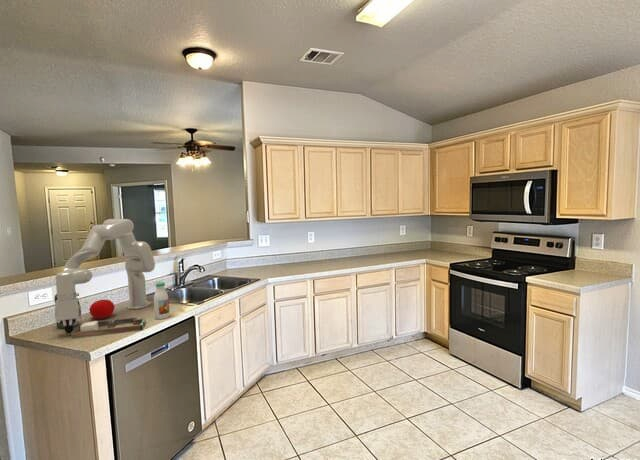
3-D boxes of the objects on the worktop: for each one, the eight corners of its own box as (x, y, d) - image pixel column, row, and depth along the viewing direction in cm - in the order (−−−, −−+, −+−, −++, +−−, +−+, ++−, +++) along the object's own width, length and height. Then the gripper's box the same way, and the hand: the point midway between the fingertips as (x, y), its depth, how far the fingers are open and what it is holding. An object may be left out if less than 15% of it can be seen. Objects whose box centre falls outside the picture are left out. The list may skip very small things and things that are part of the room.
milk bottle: (153, 320, 194) (151, 285, 192) (156, 316, 201) (153, 281, 200) (168, 318, 196) (166, 283, 194) (170, 314, 203) (168, 280, 202)
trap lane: (82, 328, 184) (81, 323, 184) (146, 320, 193) (146, 316, 193) (71, 338, 170) (71, 333, 170) (142, 329, 179) (141, 325, 179)
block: (85, 332, 178) (84, 322, 178) (98, 330, 180) (97, 321, 180) (81, 336, 173) (80, 326, 172) (94, 334, 175) (94, 324, 174)
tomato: (103, 321, 194) (102, 302, 193) (85, 320, 197) (83, 302, 196) (119, 314, 205) (117, 297, 204) (101, 313, 208) (100, 296, 207)
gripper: (86, 293, 178) (89, 328, 180) (51, 296, 174) (54, 332, 175) (81, 297, 171) (84, 333, 173) (45, 300, 167) (48, 337, 168)
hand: (69, 332), depth 174 cm, fingers closed
